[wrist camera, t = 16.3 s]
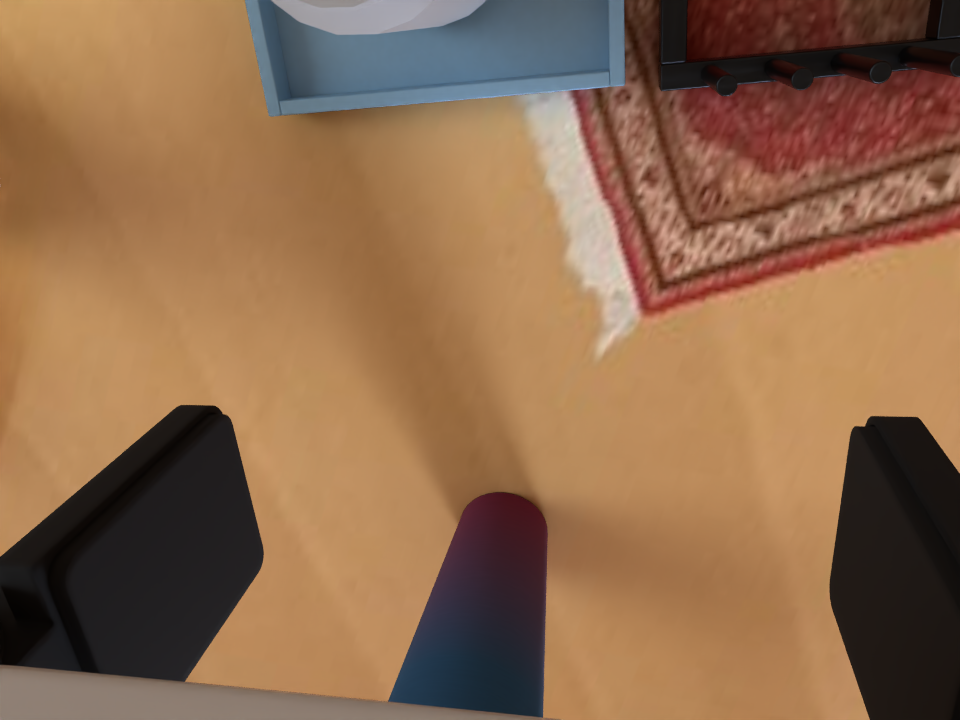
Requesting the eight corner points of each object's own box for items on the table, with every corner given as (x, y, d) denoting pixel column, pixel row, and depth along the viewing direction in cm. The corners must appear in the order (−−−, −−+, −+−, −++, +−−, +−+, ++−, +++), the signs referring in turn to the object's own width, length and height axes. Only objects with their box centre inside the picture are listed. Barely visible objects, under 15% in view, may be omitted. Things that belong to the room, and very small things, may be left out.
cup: (472, 459, 40) (403, 685, 27) (584, 510, 40) (571, 758, 27) (428, 545, 43) (346, 785, 30) (532, 591, 44) (498, 850, 30)
